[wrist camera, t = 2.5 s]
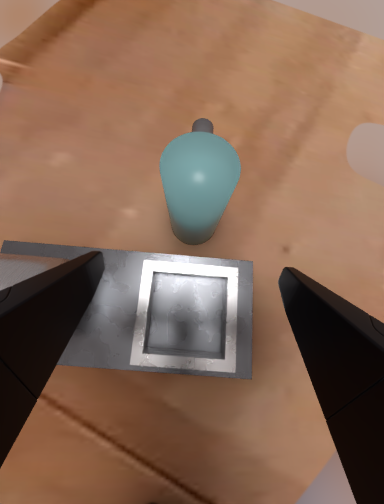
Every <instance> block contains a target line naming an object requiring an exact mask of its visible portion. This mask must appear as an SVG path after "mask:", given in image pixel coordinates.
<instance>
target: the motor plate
mask: <svg viewBox="0 0 384 504" xmlns="http://www.w3.org/2000/svg"><path fill="white" fill-rule="evenodd" d="M91 251H101V252H102V253H103V257H104V262H105V270H104V273H103V275H102V277H101V280H100V282H99V285H98V287H97V290H96V292H95V295H94V297H93V299H92V301H91V302H90V304H89V306H88V308H87V310H86V312H85V313H84V315H83V317H82V319H81V321H80V323H79V324H78V326H77V328H76V330H75V332H74V334H73V335H72V337H71V339H70V341H69V343H68V345H67V346H66V348H65V350H64V352H63V354H62V356H61V357H60V359H59V361H58V363H57V365H66V366H80V367H93V368H107V369H120V370H134V371H147V372H160V373H174V374H187V375H201V376H214V377H227V378H241V379H252V296H253V261H242V260H230V259H219V258H207V257H195V256H183V255H171V254H160V253H148V252H136V251H124V250H112V249H100V248H89V247H77V246H65V245H53V244H41V243H30V242H18V241H6V240H4V242H3V245H2V249H1V252H0V290H3V289H5V288H7V287H10V286H13V285H14V284H17V283H19V282H21V281H24V280H26V279H28V278H30V277H33V276H35V275H37V274H40V273H42V272H44V271H47V270H49V269H51V268H54V267H56V266H58V265H60V264H63V263H65V262H67V261H70V260H72V259H74V258H77V257H79V256H81V255H84V254H86V253H88V252H91Z"/></svg>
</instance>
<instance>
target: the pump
mask: <svg viewBox="0 0 384 504" xmlns="http://www.w3.org/2000/svg"><path fill="white" fill-rule="evenodd" d="M240 171H241V165H240V160H239V157H238V155H237V153H236V151H235V150H234V148H233V147H232V146H231V145H230V144H229V143H228V142H227V141H226V140H224V139H223V138H221V137H219V136H217V135H215V134H213V124H212V122H211V121H209V120H208V119H204V118H201V119H198V120H196V121H195V122H194V123H193V126H192V132H190V133H186V134H183V135H181V136H179V137H177V138H175V139H174V140H173V141H171V142H170V143H169V144H168V145H167V147H166V148H165V149H164V151H163V153H162V156H161V159H160V174H161V178H162V183H163V188H164V193H165V197H166V202H167V207H168V212H169V216H170V221H171V226H172V230H173V232H174V234H175V236H176V237H177V238H178V239H179V240H180V241H182V242H184V243H186V244H190V245H198V244H202V243H204V242H206V241H207V240H209V239H210V238H211V236H212V235H213V233H214V231H215V229H216V227H217V225H218V223H219V221H220V219H221V216H222V214H223V212H224V210H225V208H226V206H227V204H228V202H229V199H230V197H231V195H232V193H233V191H234V189H235V187H236V185H237V182H238V180H239V177H240Z"/></svg>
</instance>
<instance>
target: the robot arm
mask: <svg viewBox="0 0 384 504" xmlns="http://www.w3.org/2000/svg"><path fill="white" fill-rule="evenodd" d="M104 270H105V262H104V257H103V253H102V252H101V251H91V252H88V253H86V254H84V255H81V256H79V257H77V258H74V259H72V260H70V261H67V262H65V263H63V264H60V265H58V266H56V267H54V268H51V269H49V270H47V271H44V272H42V273H40V274H37V275H35V276H33V277H30V278H28V279H26V280H24V281H21V282H19V283H17V284H14V285H13V286H10V287H7V288H5V289H3V290H0V468H1V466H2V464H3V462H4V460H5V459H6V457H7V455H8V453H9V451H10V449H11V448H12V446H13V444H14V442H15V440H16V438H17V437H18V435H19V433H20V431H21V429H22V427H23V426H24V424H25V422H26V420H27V418H28V416H29V415H30V413H31V411H32V409H33V407H34V405H35V404H36V402H37V399H38V398H39V396H40V394H41V392H42V390H43V389H44V387H45V385H46V383H47V381H48V379H49V378H50V376H51V374H52V372H53V370H54V368H55V367H56V365H57V363H58V361H59V359H60V357H61V356H62V354H63V352H64V350H65V348H66V346H67V345H68V343H69V341H70V339H71V337H72V335H73V334H74V332H75V330H76V328H77V326H78V324H79V323H80V321H81V319H82V317H83V315H84V313H85V312H86V310H87V308H88V306H89V304H90V302H91V301H92V299H93V297H94V295H95V292H96V290H97V287H98V285H99V282H100V280H101V277H102V275H103V273H104ZM278 284H279V289H280V293H281V297H282V301H283V305H284V308H285V312H286V315H287V317H288V320H289V323H290V325H291V328H292V331H293V334H294V336H295V339H296V342H297V344H298V347H299V350H300V352H301V355H302V358H303V360H304V363H305V366H306V368H307V371H308V374H309V377H310V379H311V382H312V385H313V387H314V390H315V393H316V395H317V398H318V401H319V403H320V406H321V409H322V411H323V414H324V417H325V419H326V420H327V421H326V423H327V425H328V428H329V431H330V433H331V436H332V439H333V441H334V444H335V447H336V449H337V452H338V455H339V457H340V460H341V463H342V466H343V468H344V471H345V474H346V476H347V479H348V482H349V484H350V487H351V490H352V492H353V495H354V498H355V500H356V503H357V504H384V323H382V322H381V321H379V320H377V319H376V318H374V317H373V316H371V315H369V314H368V313H366V312H364V311H363V310H361V309H360V308H358V307H356V306H355V305H353V304H352V303H350V302H348V301H347V300H345V299H343V298H342V297H340V296H339V295H337V294H335V293H334V292H332V291H331V290H329V289H327V288H326V287H324V286H323V285H321V284H319V283H318V282H316V281H315V280H313V279H311V278H310V277H308V276H306V275H305V274H303V273H302V272H300V271H298V270H297V269H295V268H293V267H285V268H284V269H283V271H282V273H281V275H280V278H279V280H278Z"/></svg>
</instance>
